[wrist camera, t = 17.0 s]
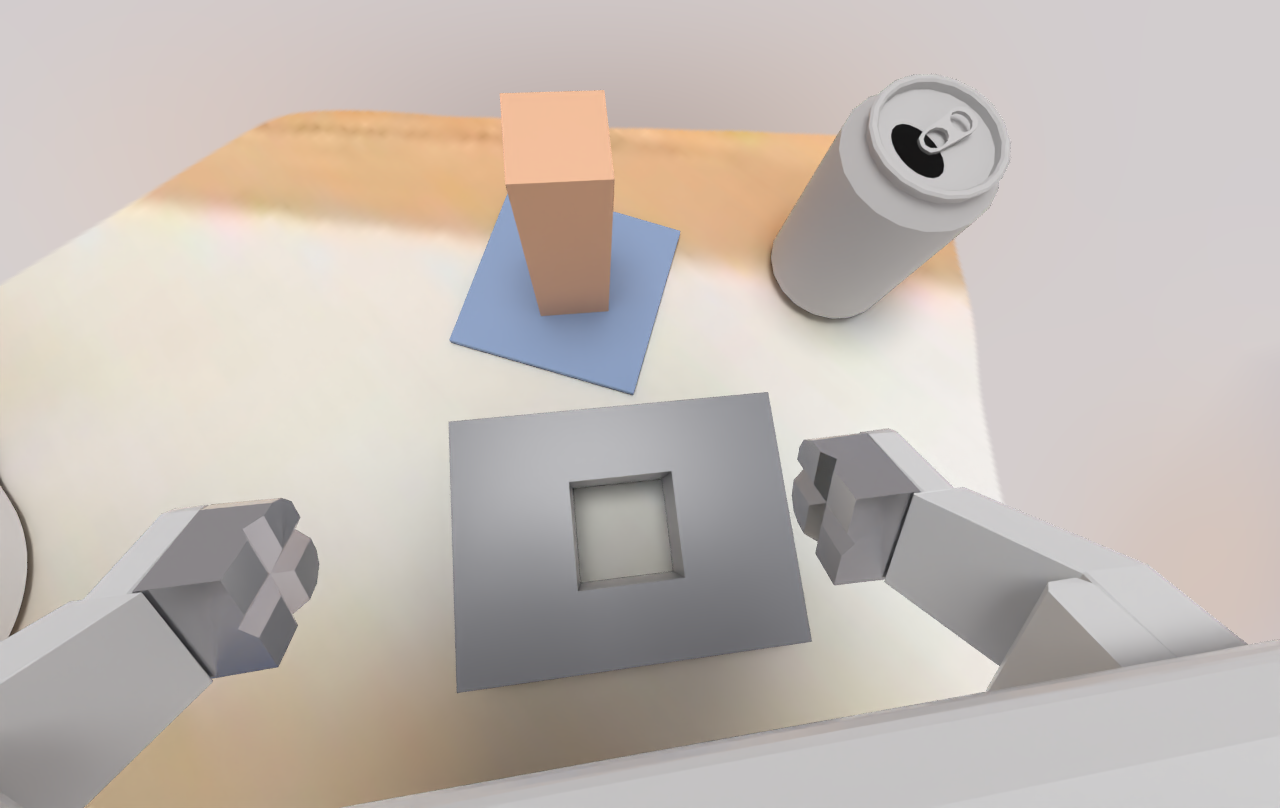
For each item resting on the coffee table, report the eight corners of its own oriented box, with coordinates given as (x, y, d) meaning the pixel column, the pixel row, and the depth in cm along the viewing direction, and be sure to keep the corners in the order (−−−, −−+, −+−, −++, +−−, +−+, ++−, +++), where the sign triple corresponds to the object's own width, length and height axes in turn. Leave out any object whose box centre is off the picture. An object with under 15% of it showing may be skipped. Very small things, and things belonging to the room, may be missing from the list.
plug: (540, 316, 31) (505, 184, 19) (536, 254, 31) (499, 93, 20) (608, 311, 31) (614, 179, 19) (602, 250, 32) (604, 90, 20)
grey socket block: (477, 669, 26) (456, 692, 22) (468, 436, 29) (448, 421, 25) (781, 626, 28) (811, 641, 24) (746, 409, 31) (767, 391, 27)
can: (743, 250, 33) (821, 98, 22) (833, 199, 35) (952, 32, 23) (812, 345, 32) (935, 239, 20) (903, 288, 33) (1066, 159, 22)
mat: (451, 342, 30) (449, 339, 30) (513, 186, 33) (512, 181, 32) (633, 394, 30) (633, 393, 30) (679, 234, 33) (680, 231, 33)
